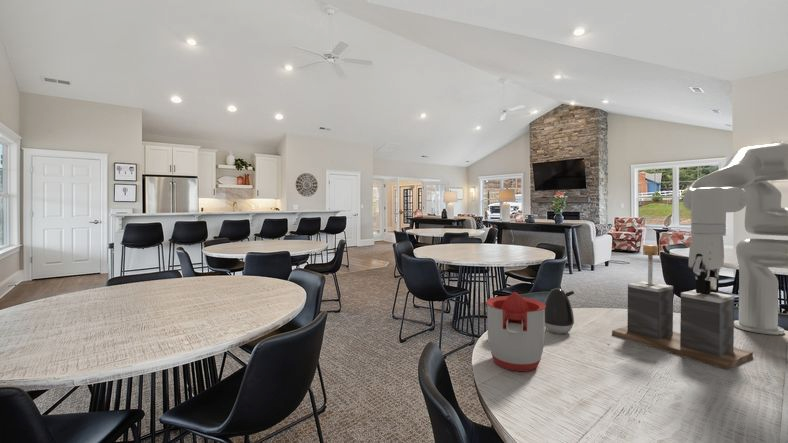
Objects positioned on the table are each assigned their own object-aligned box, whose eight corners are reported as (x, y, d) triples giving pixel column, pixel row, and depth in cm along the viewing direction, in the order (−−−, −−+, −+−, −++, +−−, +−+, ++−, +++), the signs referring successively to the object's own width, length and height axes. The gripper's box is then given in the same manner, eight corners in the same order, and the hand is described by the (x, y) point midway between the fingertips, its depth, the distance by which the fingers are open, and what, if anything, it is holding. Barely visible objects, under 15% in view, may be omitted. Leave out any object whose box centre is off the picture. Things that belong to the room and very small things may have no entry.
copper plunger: (644, 303, 120) (644, 244, 120) (667, 307, 114) (668, 245, 114) (632, 305, 117) (633, 245, 117) (656, 310, 111) (656, 247, 110)
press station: (639, 326, 126) (639, 278, 126) (752, 357, 100) (753, 296, 99) (612, 334, 119) (612, 283, 119) (727, 369, 92) (728, 303, 92)
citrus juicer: (483, 373, 92) (482, 298, 91) (489, 349, 108) (488, 284, 107) (548, 383, 86) (548, 302, 86) (544, 355, 103) (544, 287, 102)
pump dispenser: (578, 337, 117) (578, 292, 116) (545, 335, 119) (545, 291, 119) (569, 327, 127) (569, 285, 126) (539, 325, 129) (539, 284, 129)
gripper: (705, 228, 109) (704, 287, 109) (677, 230, 101) (676, 293, 102) (737, 229, 102) (736, 292, 103) (710, 231, 95) (709, 299, 95)
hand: (707, 292), depth 102 cm, fingers closed on ivory plunger, 4 cm apart
